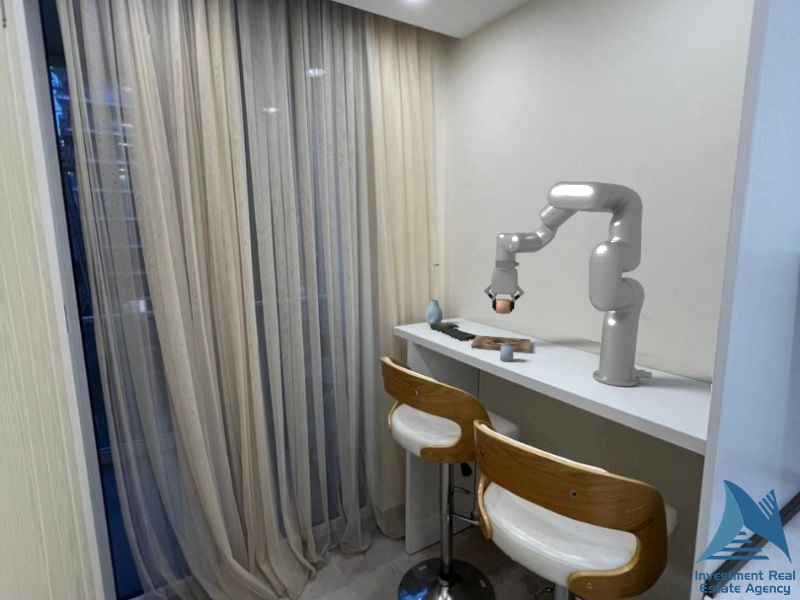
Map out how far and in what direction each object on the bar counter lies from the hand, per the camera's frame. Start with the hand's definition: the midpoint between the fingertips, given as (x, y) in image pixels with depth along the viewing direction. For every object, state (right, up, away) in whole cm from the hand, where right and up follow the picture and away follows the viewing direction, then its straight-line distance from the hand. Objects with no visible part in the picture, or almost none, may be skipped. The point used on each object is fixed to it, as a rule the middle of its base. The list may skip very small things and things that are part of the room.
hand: (503, 310), depth 165 cm
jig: (0, -14, +2) cm, 14 cm away
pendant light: (-24, -8, +39) cm, 46 cm away
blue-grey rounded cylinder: (-3, -17, -17) cm, 25 cm away
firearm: (-16, -11, +24) cm, 30 cm away
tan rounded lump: (0, -1, 0) cm, 1 cm away
